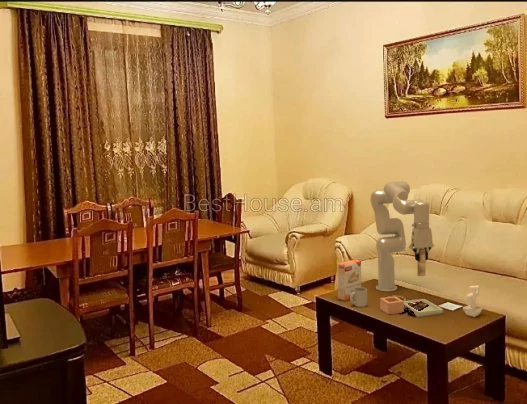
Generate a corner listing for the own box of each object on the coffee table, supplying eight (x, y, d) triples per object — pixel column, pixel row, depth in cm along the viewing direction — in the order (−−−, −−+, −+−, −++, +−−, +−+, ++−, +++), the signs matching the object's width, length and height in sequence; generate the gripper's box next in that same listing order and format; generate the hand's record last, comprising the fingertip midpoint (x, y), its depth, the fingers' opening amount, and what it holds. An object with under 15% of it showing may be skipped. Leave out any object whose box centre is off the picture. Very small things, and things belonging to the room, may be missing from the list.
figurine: (461, 315, 260) (461, 286, 258) (470, 310, 266) (471, 282, 264) (474, 318, 254) (474, 289, 252) (484, 314, 260) (484, 285, 258)
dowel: (416, 274, 269) (416, 248, 267) (422, 273, 270) (422, 247, 268) (420, 276, 265) (420, 250, 264) (427, 275, 266) (427, 249, 264)
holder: (380, 308, 274) (380, 298, 273) (395, 307, 276) (395, 296, 275) (388, 314, 265) (388, 303, 264) (403, 312, 267) (403, 301, 267)
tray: (401, 306, 277) (401, 301, 277) (424, 303, 280) (424, 298, 280) (418, 317, 260) (418, 312, 260) (443, 313, 263) (443, 309, 263)
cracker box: (345, 301, 288) (344, 265, 286) (337, 299, 293) (336, 263, 290) (361, 295, 297) (361, 260, 294) (354, 293, 302) (353, 259, 299)
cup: (369, 305, 280) (369, 290, 279) (353, 308, 276) (353, 292, 275) (362, 302, 286) (362, 286, 285) (346, 304, 283) (346, 289, 282)
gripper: (410, 227, 259) (410, 263, 261) (440, 225, 263) (439, 260, 265) (403, 225, 266) (403, 259, 268) (432, 223, 270) (431, 257, 272)
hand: (421, 259), depth 267 cm, fingers closed on dowel, 4 cm apart
